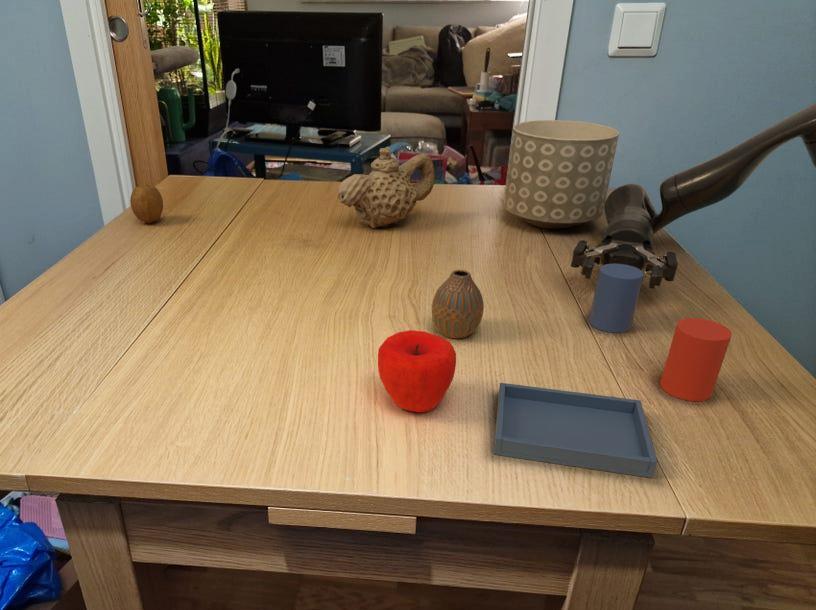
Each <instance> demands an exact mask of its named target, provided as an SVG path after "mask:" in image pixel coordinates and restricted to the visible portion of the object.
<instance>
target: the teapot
mask: <svg viewBox="0 0 816 610" xmlns="http://www.w3.org/2000/svg"><path fill="white" fill-rule="evenodd" d="M378 153H379V157H377V158H376V159H374V160H373V161H372V162H371V163H370V167H371V171H370V172H369V174H362V173H361V174H360V173H359V174H358V173H356V174H355V173H354V174H352V175H351V176H348V177H347V178H345V179H343V181H342V182H341V184H340V185H339V186H338V191H337V198H338V199H339V201H340V204H342V205H345V206H347V207H348V208H351V207H354V210H355V213H356V214H357V216H358V218H360V221H361V224H363V225H365V226H370V227H371V229H376V228H388V227H391V226H394V225H397V224H398V223H399V222H401V221H404V219H406V218H407V217H408V215H409V214H411V213H412V212H413V211H414V207H415V206H416V205H417V202H418V201H419V202H421V201H424V200H425V199H426V198H427V197H428V196H429V195H430V194H431V192H432V190H433V188H434V186H435V181H436V178H435V168H434V163H433V160H432V158H431V156H429V154H427V153H423V152H422V153H419V154H417V155H414V156H412V157H411V158H410V159H408V160H407V161H405V162H403V163H401V165H400V163H399V161H398V159H397V158H396V157H393V156H391V155H392V153H391V147H390V146H386V147H381V148H379V151H378ZM418 170H419V171H420V179H419V181H418V182H416V183H413V184H412V183H411V177H412V176H413V174H414V173H415V172H417V171H418Z"/></svg>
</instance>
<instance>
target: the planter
mask: <svg viewBox="0 0 816 610" xmlns="http://www.w3.org/2000/svg"><path fill="white" fill-rule="evenodd" d="M619 137H620V131H619V130H618V129H616V128H614V127H611V126H608V125H604V124H599V123H594V122H588V121H577V120H562V119H541V120H529V121H523V122H519V123H516V124H515V125H514V126H513V128H512V135H511V144H510V151H509V158H508V159H509V160H508V168H507V174H506V182H505V191H504V196H503V197H504V199H503V208H504V209H505V210H506V211H507V212H509V213H510V214H512V215H515V216H517V217H518V218H520V219H521V220H522V221H524V222H526V223H528V224H529V225H531V226H534V227H537V228H541V229H546V230H563V229H569V228H573V227H577V226H579V225H582V224H584V223H587V222H593V221H595V220H598V219H600V218H601V217H602V216H603V214H604V211H605V210H604V205H605V201H606V199H607V197H608V196H607V195H608V190H609V185H610V181H611V176H612V172H613V166H614V161H615V157H616V156H615V155H616V152H617V148H618V147H617V146H618V141H619Z"/></svg>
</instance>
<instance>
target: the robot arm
mask: <svg viewBox="0 0 816 610" xmlns="http://www.w3.org/2000/svg"><path fill="white" fill-rule="evenodd" d="M798 138H801V140H802V142H803V145H804V147H805V150H806V152H807V155H808V156H809V159H810V160H811V163H812V165H813V166H814V168H815V169H816V102H814V103H812V104H810V105H808V106H806V107H805V108H803V109H801V110H799V111H797V112H795V113H794V114H792V115H790V116H788V117H786V118H785V119H783V120H781V121H778V122H776V123H775V124H773V125H771V126H770V127H768V128H766V129H764V130H762V131H760V132H759V133H757V134H755V135H753V136H751V137H750V138H748V139H746V140H744V141H743V142H741V143H739V144H738V145H736V146H734V147H732V148H730V149H729V150H727V151H725V152H723V153H721V154H719V155H717V156H715V157H713V158H710V159H708V160H706V161H704V162H702V163H699V164H697V165H694V166H692V167H689V168H687V169H685V170H682V171H680V172H678V173H675V174H673V175H671V176H669V177H667V178H665V179H663V181H661V183H660V185H659V197H660V203H661V210H659V211H658V212H657V211H656V209H655V207H654V205H653V202H652V201H651V198H650V197H649V195H648V192H647V191H646V189H645V188H644V187H643V186H642V185H640V184H638V183H625V184H622V185H620V186H618V187H616V188H615V189H614V190H612V191H611V192H610V193H609V195H608V196H606V201H605V205H604V210H603V211H604V215H605V219H606V222H607V226H606V227H605V229H604V230H603V232H602V237H601V242H600V243H599V244H598V245H597V246H590V243H588V241H587V240H586V239H581V240H579V241H578V242H577V244H576V245H575V247H574V249H573V251H572V259H571V261H570V262H571V263H570V267H572V268H575V269H576V268H580V267H581V272H580V273H581V275H582V276H584V279H587V280H591V278H592V274H593V271H595V270H596V271H598V272H599V270H600V267H601V266H603V265H606V264H624V265H629V266H633V267H636V268H638V269H640V270H641V271H642V272H643V273H644V276H643V278H648V279H649V281H648V282H649V283H648V289H653V290H654V289H655V288H656V287H660V286H661V284H662V280H663V279H664V281H667V282H674V281H675V277H676V273H677V269H678V265H679V263H678V258H677V254H676V252H674V251H666V253H664V254H663V255H656V253H655V251H654V250H653V245H654V244H653V243H654V241H655V236H654V235H655V234H656V233H658V232H659V231H661V230H662V229H663V228H665V227H666V226H668V225H669V224H671V223H673V222H674V221H676V220H678V219H679V218H682V217H684V216H686V215H688V214H692V213H693V212H697V211H699V210H702V209H704V208H707V207H711V206H712V205H715V204H717V203H720V202H722V201H723V200H725V199H727V198H729V197H730V196H732V195H733V194H734V193H735V192H737V190H739V189H740V188H741V187H742V186H743V184H745V182H746V181H747V180H748V179H749V178H750V176H751V175H752V174H753V173H754V172H755V171H756V169H758V167H759V166H760V165H761V164H762V163H763V162H764V161H765V160H766V159H767V158H768V157H769V156H770V155H771V154H772V153H773V152H775V151H776V150H777V149H779V148H781V147H782V146H784V145H786V144H788V143H789V142H791V141H793V140H796V139H798Z"/></svg>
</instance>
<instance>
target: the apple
mask: <svg viewBox="0 0 816 610" xmlns="http://www.w3.org/2000/svg"><path fill="white" fill-rule="evenodd" d="M456 367H457V352H456V350H455V348H454V346H453V344H452V343H451V341H450V340H447V339H445V338H444V337H442V336H440V335H436V334H433V333H430V332H427V331H424V330H412V329H409V330H404V331H403V330H402V331H398V332H396V333H394V334H392V335H390V336H387V337H386V339H385V340H384V341H383V342H382V344H381V345H380V346H379V347H378V352H377V370H378V376H379V379H380V382H381V383H382V385H383V388H384V389H385V391H386V393H387V394H388V395H389V398H390V399H391V400H392V401H393V403H394V404H395V405H396V406H397V407H399V408H400V409H403V410H406V411H409V412H415V413H425V412H431V411H432V410H433V409H435V408H436V407H437V406H438V405H439V404H440V403H441V401H442V400H443V398H444V397H445V395H446V393H447V392H448V390H449V388H450V386H451V384H452V381H453V379H454V376H455V374H456V373H455V372H456Z"/></svg>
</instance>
